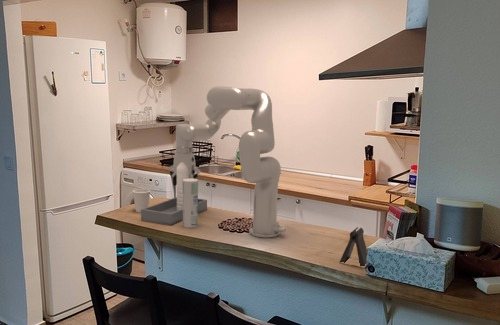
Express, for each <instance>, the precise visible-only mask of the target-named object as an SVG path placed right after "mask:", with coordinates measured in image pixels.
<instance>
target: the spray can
mask: <svg viewBox="0 0 500 325" xmlns="http://www.w3.org/2000/svg"><path fill="white" fill-rule="evenodd" d="M198 199H199V179H197V178H196V179H191V177H190V179H183V221H182V226H183V227H184V228H186V229H187V228H188V229H191V228H193V229H194V228H196V227H198V222H199V220H198V218H199V216H198V215H199V214H198Z"/></svg>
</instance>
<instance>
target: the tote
mask: <svg viewBox="0 0 500 325" xmlns="http://www.w3.org/2000/svg"><path fill="white" fill-rule="evenodd" d="M207 210H208V199H203V198H198V215H199V214H201V213H203V212H206V211H207ZM140 221H143V222H147V223H153V224H160V225H165V226H174V225H176V224H179V223H181V222H183V209H181V210H178V211H177V196H175V197H173V198H169V199H168V200H163V201H162V202H159V203H155V204H151V205H148V207H147V208H144V209H141V212H140Z"/></svg>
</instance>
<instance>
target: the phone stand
mask: <svg viewBox="0 0 500 325" xmlns="http://www.w3.org/2000/svg"><path fill="white" fill-rule="evenodd" d="M364 230H365V229H363V227H360V228H359V227H358V226H357V227H355V228H354V229H353V230H352V231H351V232H350V233H349V240H348V242H347V244H346V246H345V247H346V248H345V250H344V252H343V253H342V256H341V258H340V260H339V263H340V262H344V263H345V262H346V261H347V260H348V259H349V258H351V256H352V253H353V250H354V247H355V246H356V247H355V248H356V252H357V257H358V260H359V263H360V266H365V264H366V250H367V251H368V248H367V246H366V241H365V238H364V232H365V231H364Z"/></svg>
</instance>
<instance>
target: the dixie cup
mask: <svg viewBox="0 0 500 325" xmlns="http://www.w3.org/2000/svg"><path fill="white" fill-rule="evenodd" d="M131 193H132V195H133V202H134V208H135V212H136V213H141V209H144V208H147V207H149V206H150V205H149V204H150V203H149V202H150V196H151V195H150V194H151V189H149V188H135V189H133V190H132V192H131Z"/></svg>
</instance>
